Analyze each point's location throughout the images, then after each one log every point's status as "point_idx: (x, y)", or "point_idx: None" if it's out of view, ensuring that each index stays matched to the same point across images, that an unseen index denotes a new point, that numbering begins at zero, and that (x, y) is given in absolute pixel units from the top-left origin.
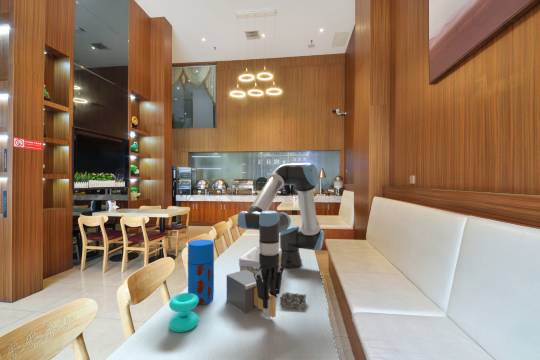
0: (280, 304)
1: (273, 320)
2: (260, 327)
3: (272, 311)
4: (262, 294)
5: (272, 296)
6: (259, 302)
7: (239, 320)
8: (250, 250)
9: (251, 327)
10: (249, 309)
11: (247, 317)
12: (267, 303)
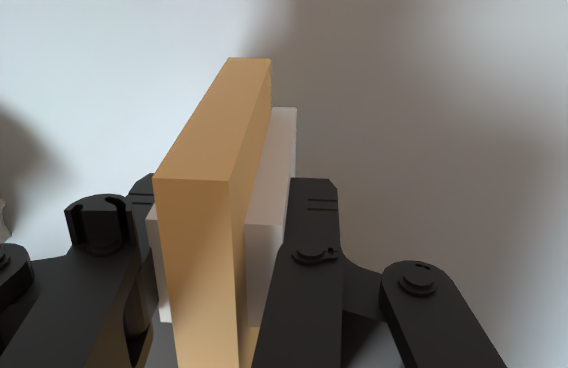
0: (6, 235)
1: None
2: (439, 71)
3: (264, 94)
4: (476, 364)
5: (200, 233)
6: None
7: (487, 283)
8: None
9: (503, 133)
10: None
11: None
12: (290, 214)
